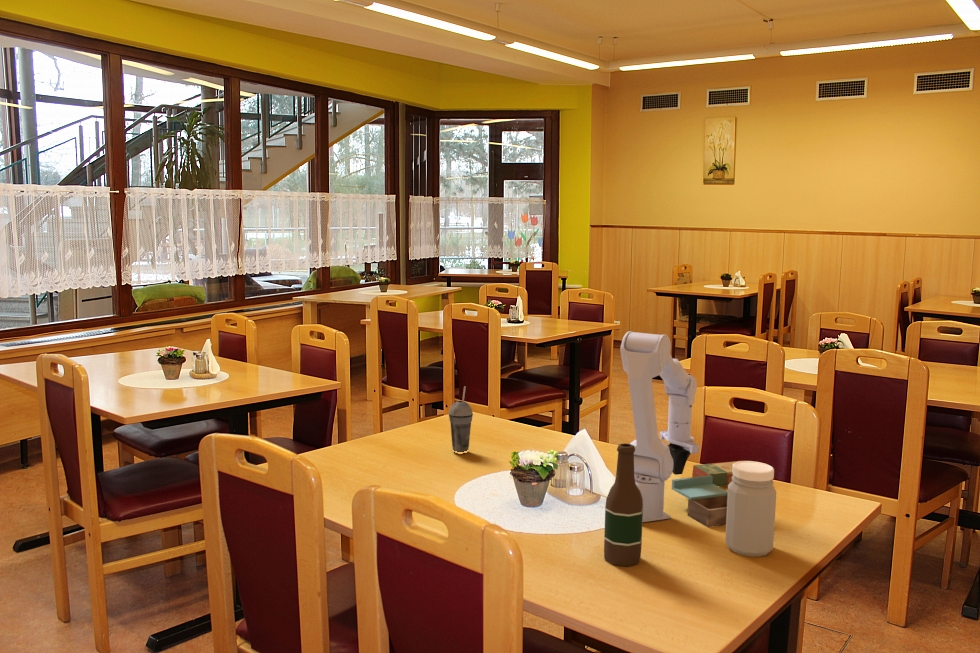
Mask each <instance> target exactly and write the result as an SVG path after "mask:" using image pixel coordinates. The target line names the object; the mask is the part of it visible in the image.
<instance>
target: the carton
mask: <svg viewBox="0 0 980 653" xmlns="http://www.w3.org/2000/svg"><path fill="white" fill-rule="evenodd" d="M740 461H741V460H737V461H736V460H735V461H734V460H733V461H725V462H715V463H714V462H713V463H712V462H711V463H705V464H703V463H702V464H694V465H693V466H692V474H691V475H692V476H691V477H699V476H708V475H711V476H713V481H712V484H714V485H716V486H719V487H728V485H729V484H730V482H731V481H732V476H734V475H733V473H732V465H733V464H734V463H736V462H740Z"/></svg>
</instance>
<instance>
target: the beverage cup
mask: <svg viewBox="0 0 980 653" xmlns="http://www.w3.org/2000/svg"><path fill="white" fill-rule="evenodd" d="M466 387H467V386H465V385H464V386H463V392H462V400H457V401H455V402H453V404H452V405H451V406H450V407H449V411H448V419H449V423H450V434H451V445H452V447H451V448H452V451H453V450H454V451H457V452H464V451H467V450H468V451H469V448H470V440H471V439H470V437H471V430H472V429H471V427H472V420H473V416H474V413H473V408H472V407H471V405H470V404H469V403H468V402H466V401H465V394H466Z"/></svg>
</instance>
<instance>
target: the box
mask: <svg viewBox="0 0 980 653" xmlns="http://www.w3.org/2000/svg"><path fill="white" fill-rule="evenodd" d="M727 498H728V495H726V496H718V497H710V498H702V499H694V500H690V499H688V498H687V516H688V517H689V518H692V519H693V520H695V521H696V522H698V523H699V524H701V525H703V526H704V527H707V528H714V527H720V526H726V518H727Z"/></svg>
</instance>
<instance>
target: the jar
mask: <svg viewBox="0 0 980 653" xmlns="http://www.w3.org/2000/svg"><path fill="white" fill-rule="evenodd" d="M739 461H740V462H736V463H734V464H733V465H732V473H733V475H734V476H732V481H731V482H730V484H729V485H728V486H727V491H728V498H727V518H726V525H725V544H726V545H727V547H728V549H729V550H731V551H732V552H734V553H735V554H739V555H741V556H745V557H755V558H757V557H764V556H766V555H767V554H769V553H770V552H771V551H772V550H773V549H774V540H775V527H776V526H775V524H776V509H777V508H776V506H777V490H776V488H775V486H774V481H773V479H774V477H775V468H774V467H773V466H771V465H769V464H767V463H764V462H759V461H752V460H739Z"/></svg>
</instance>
